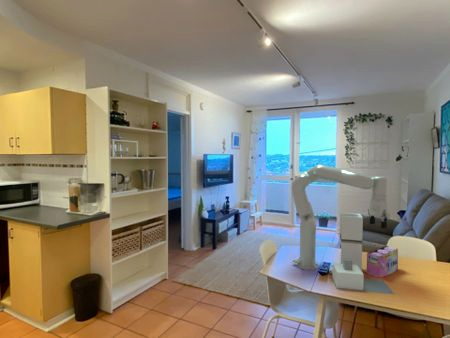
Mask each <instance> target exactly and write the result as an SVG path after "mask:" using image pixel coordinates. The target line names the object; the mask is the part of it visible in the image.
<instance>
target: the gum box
mask: <svg viewBox="0 0 450 338" xmlns="http://www.w3.org/2000/svg"><path fill="white" fill-rule="evenodd" d="M397 271H399V249H398V248H393V247H390V246H388V245H384V246H381V247H379V248H377V249H374V250H371V251H367V252H366V274H368V275H371V276H374V277H376V278H382V277H383V278H385V277H387V276H389V275H392V274H393V273H395V272H397Z"/></svg>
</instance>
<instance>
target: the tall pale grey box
mask: <svg viewBox="0 0 450 338" xmlns="http://www.w3.org/2000/svg"><path fill="white" fill-rule="evenodd" d="M363 221H364V218H363V216H362V214H361V213H349V212H340V213H339V241H340V245H341V246H340V264H343V258H351V260H352V264H354V265H358V267H359V268H360V270H361V271H362V268H363V267H362V266H363V229H364V228H363V225H364V224H363ZM362 272H363V271H362Z"/></svg>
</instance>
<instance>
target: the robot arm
mask: <svg viewBox="0 0 450 338" xmlns="http://www.w3.org/2000/svg"><path fill="white" fill-rule="evenodd" d="M319 179H320V180H324V181H325V180H326V181H329V182H333V183H338V184H340V185H345V186H351V187H354V188H358V189H364V190H371V198H370V201H369V206H368V207H369V208H368V209H367V212H368V214H367V215H368V217H369V225H375V224H376V218H380V220H381V222H380V228H381V229H387V228H388V227H387V226H388V221H389V220H390V217H391V215H390V214H389V212H388V204H387V203H388V202H387V191H388V190H387V189H388V188H387V187H388V178H387V177H386V176H381V175H379V176H373V175H371V176H370V175H361V174H357V173H354V172H351V171H348V170H345V169H341V168H337V167H333V166H330V165H325V164H317V165H315V166H313V167H311V168H309V169H307V170H305V171H304V172H302V173H300V174H299V175H297V177H296V178H295V179H294V180H293V182H292V185H291V193H292V199H293V202H294V206H295V210H296V212H297V215H298V217H299V220H300V224H299V258H292V263H294V264H297V267H298V268H299V269H301V270H315V269H318V267H319V266H318V264H317V263H316V243H317V242H316V237H317V221H316V217H315V214H314V211H313V207H312V204H311V202H310V201H309V199H308V195H307V192H306V187H308V186H309V185H310V184H312V183H314V182H315V181H317V180H319Z"/></svg>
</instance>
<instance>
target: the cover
mask: <svg viewBox="0 0 450 338" xmlns="http://www.w3.org/2000/svg"><path fill="white" fill-rule="evenodd" d="M364 275H365V274H364V273H363V271H361V270H360V268H359V267H358V265H354V264H352V260H351V258H343V264H341V262H340V263H339V262H338V263H337V262H333V263H332V275H331V276H332V277H333V279H332V281H333V280H334V282H335V284H336V287H337V288H346V289H357V290H363V282H364V279H365V278H364ZM332 277H331V278H332ZM334 282H333V283H334ZM335 284H334V285H335ZM336 287H335V288H336Z"/></svg>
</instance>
